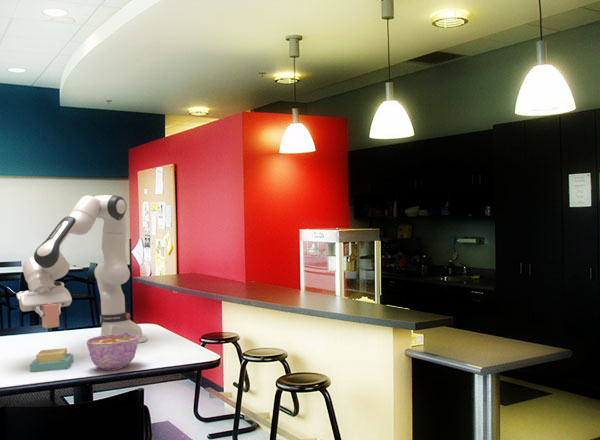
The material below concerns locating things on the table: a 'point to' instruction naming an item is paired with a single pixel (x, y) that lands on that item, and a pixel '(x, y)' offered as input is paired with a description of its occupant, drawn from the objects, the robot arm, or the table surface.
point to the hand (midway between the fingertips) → (50, 314)
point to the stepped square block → (51, 360)
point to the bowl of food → (112, 350)
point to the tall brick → (50, 315)
